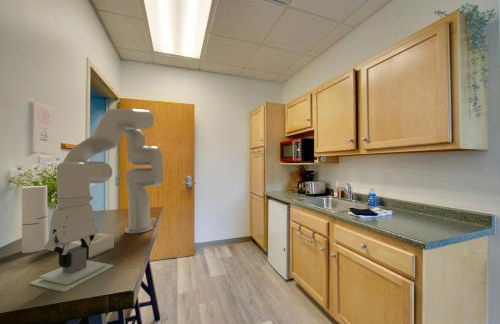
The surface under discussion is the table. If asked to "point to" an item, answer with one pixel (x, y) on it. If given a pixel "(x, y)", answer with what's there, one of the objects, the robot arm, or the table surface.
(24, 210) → the cylindrical container
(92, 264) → the lid
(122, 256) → the table surface
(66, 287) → the mat
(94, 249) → the open square tray
